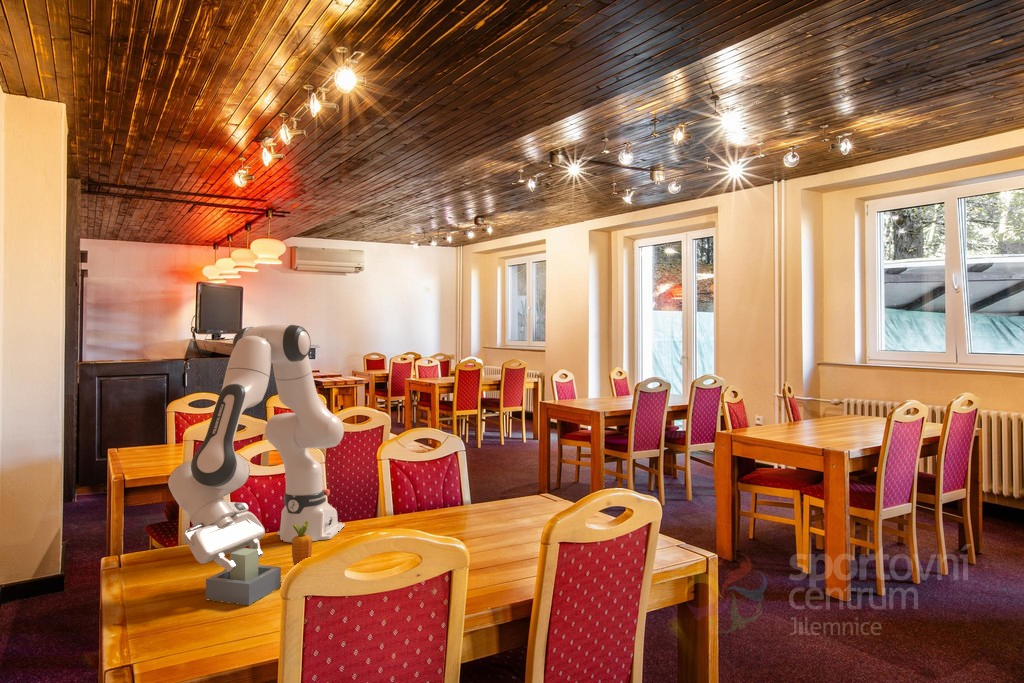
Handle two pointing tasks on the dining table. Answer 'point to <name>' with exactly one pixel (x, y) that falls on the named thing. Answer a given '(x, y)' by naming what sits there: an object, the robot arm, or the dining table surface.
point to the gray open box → (243, 586)
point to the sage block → (244, 564)
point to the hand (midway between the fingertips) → (246, 563)
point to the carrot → (301, 544)
